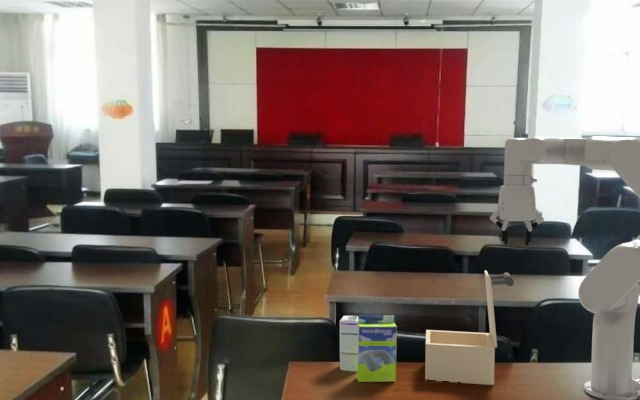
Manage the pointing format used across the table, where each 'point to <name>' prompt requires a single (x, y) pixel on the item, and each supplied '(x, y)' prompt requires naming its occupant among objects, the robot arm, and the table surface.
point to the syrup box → (348, 343)
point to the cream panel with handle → (508, 281)
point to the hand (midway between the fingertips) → (515, 243)
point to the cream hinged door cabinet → (459, 357)
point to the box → (376, 349)
